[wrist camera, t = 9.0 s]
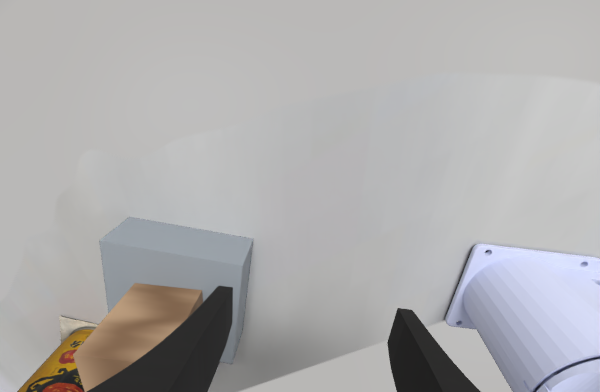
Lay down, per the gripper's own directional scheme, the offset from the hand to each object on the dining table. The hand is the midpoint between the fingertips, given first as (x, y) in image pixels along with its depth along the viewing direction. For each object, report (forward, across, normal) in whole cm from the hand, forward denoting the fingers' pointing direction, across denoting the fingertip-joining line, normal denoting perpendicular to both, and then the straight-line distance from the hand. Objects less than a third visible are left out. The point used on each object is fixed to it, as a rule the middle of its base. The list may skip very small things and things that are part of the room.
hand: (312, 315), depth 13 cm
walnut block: (+7, +10, +8) cm, 15 cm away
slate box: (+11, +10, +8) cm, 17 cm away
